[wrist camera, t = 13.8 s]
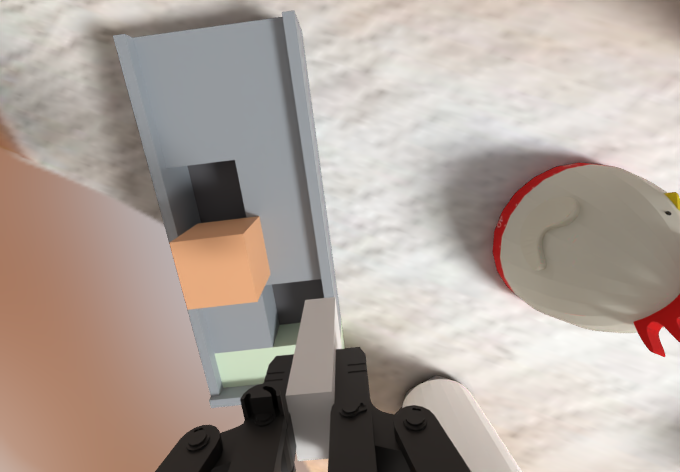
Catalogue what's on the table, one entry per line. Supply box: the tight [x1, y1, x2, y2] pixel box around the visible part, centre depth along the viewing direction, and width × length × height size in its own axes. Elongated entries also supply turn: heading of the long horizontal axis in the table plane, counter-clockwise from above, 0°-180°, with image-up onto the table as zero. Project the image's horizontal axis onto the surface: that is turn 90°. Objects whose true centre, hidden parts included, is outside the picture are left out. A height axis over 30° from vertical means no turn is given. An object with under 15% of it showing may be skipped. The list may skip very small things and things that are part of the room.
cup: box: [402, 376, 522, 472], centre depth 33 cm, size 10×10×13 cm
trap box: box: [113, 11, 345, 408], centre depth 30 cm, size 30×12×6 cm, turn 7°
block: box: [169, 216, 270, 310], centre depth 27 cm, size 5×5×5 cm
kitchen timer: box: [493, 163, 680, 357], centre depth 26 cm, size 14×14×15 cm
